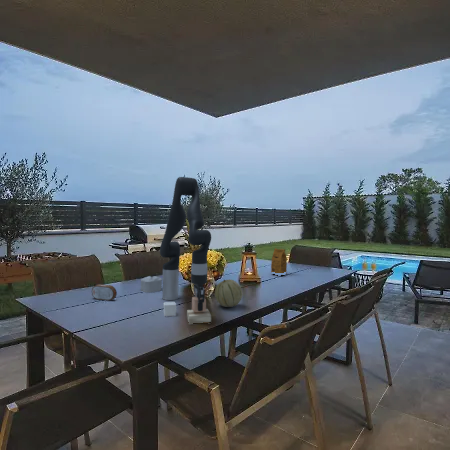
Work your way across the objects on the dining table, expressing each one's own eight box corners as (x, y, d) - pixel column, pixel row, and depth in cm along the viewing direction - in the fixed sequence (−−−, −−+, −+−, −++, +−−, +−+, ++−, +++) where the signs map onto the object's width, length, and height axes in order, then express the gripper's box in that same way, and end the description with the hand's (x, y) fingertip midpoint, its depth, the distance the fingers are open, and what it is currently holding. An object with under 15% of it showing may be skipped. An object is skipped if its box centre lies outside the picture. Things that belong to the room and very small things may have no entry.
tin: (116, 300, 184) (117, 285, 184) (113, 301, 181) (113, 286, 181) (94, 297, 188) (94, 283, 188) (90, 299, 185) (90, 284, 185)
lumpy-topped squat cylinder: (139, 290, 208) (139, 276, 208) (156, 287, 217) (157, 274, 216) (146, 293, 200) (146, 279, 200) (165, 290, 209) (165, 277, 209)
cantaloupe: (247, 306, 175) (248, 279, 174) (229, 312, 164) (230, 283, 163) (227, 301, 184) (227, 275, 184) (208, 306, 173) (209, 278, 173)
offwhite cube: (163, 313, 161) (163, 302, 161) (174, 312, 163) (174, 301, 162) (164, 316, 156) (164, 305, 156) (176, 315, 157) (176, 304, 157)
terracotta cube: (191, 308, 153) (192, 297, 153) (203, 307, 154) (203, 296, 154) (194, 312, 148) (194, 300, 147) (205, 311, 149) (206, 299, 149)
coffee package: (277, 273, 276) (277, 247, 275) (288, 275, 266) (288, 249, 265) (268, 274, 270) (269, 248, 269) (279, 277, 260) (280, 249, 259)
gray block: (187, 318, 155) (187, 309, 155) (207, 317, 157) (207, 309, 157) (188, 325, 145) (189, 316, 145) (211, 324, 147) (211, 315, 147)
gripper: (210, 275, 145) (210, 312, 145) (203, 269, 158) (203, 304, 159) (194, 276, 142) (193, 314, 143) (188, 270, 156) (188, 305, 157)
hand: (198, 308), depth 151 cm, fingers closed on terracotta cube, 5 cm apart
